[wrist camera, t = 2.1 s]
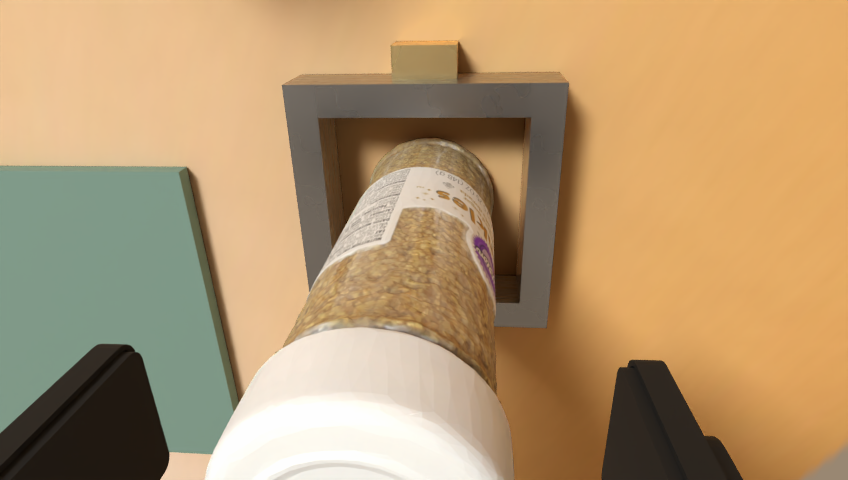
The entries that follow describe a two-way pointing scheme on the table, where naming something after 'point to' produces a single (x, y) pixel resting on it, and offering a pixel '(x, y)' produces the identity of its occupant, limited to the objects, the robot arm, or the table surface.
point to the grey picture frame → (434, 98)
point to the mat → (111, 290)
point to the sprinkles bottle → (388, 342)
